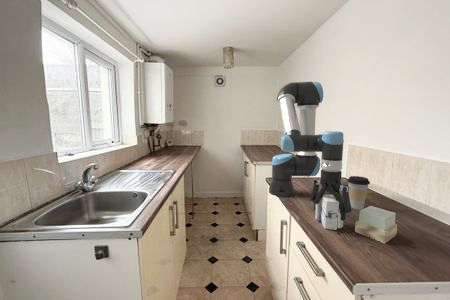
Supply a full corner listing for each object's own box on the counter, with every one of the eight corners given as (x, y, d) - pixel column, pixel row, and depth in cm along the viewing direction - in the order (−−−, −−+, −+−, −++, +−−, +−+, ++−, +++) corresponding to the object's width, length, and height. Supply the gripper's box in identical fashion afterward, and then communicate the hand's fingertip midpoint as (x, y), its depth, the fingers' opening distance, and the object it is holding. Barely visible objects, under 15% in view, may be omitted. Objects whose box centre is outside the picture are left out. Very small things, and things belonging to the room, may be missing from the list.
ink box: (319, 219, 94) (320, 193, 92) (332, 220, 93) (333, 194, 91) (324, 229, 85) (325, 201, 84) (338, 230, 84) (339, 201, 83)
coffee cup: (347, 202, 112) (349, 174, 110) (369, 206, 107) (371, 177, 105) (344, 208, 105) (345, 178, 103) (366, 213, 99) (369, 181, 97)
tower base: (354, 232, 83) (355, 221, 83) (367, 225, 89) (367, 215, 88) (384, 244, 75) (385, 232, 74) (396, 235, 80) (397, 224, 80)
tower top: (358, 221, 82) (359, 210, 82) (369, 216, 87) (370, 205, 86) (384, 230, 75) (385, 218, 75) (394, 224, 80) (395, 213, 79)
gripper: (302, 166, 93) (300, 215, 96) (355, 176, 75) (351, 236, 78) (312, 164, 97) (310, 211, 100) (365, 173, 79) (361, 230, 82)
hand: (328, 222), depth 89 cm, fingers closed on ink box, 9 cm apart
